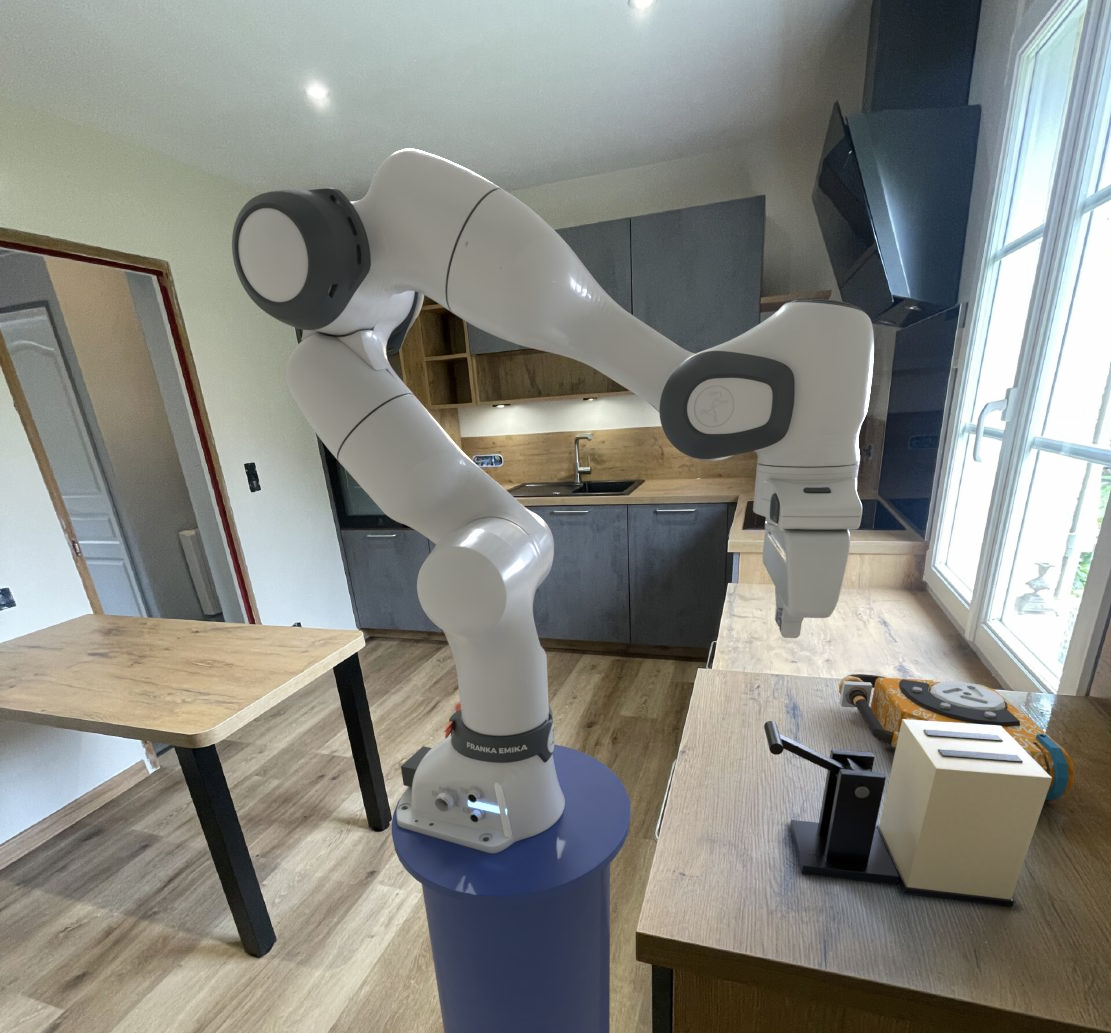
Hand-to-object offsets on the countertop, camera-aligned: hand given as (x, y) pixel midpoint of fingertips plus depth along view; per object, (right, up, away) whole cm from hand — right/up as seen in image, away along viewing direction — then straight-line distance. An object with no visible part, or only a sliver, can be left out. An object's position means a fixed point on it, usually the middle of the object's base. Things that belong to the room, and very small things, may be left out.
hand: (786, 630), depth 60 cm
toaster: (+20, -27, +6) cm, 34 cm away
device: (+34, -18, +29) cm, 48 cm away
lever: (+5, -15, +5) cm, 17 cm away
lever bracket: (+10, -27, +9) cm, 30 cm away
